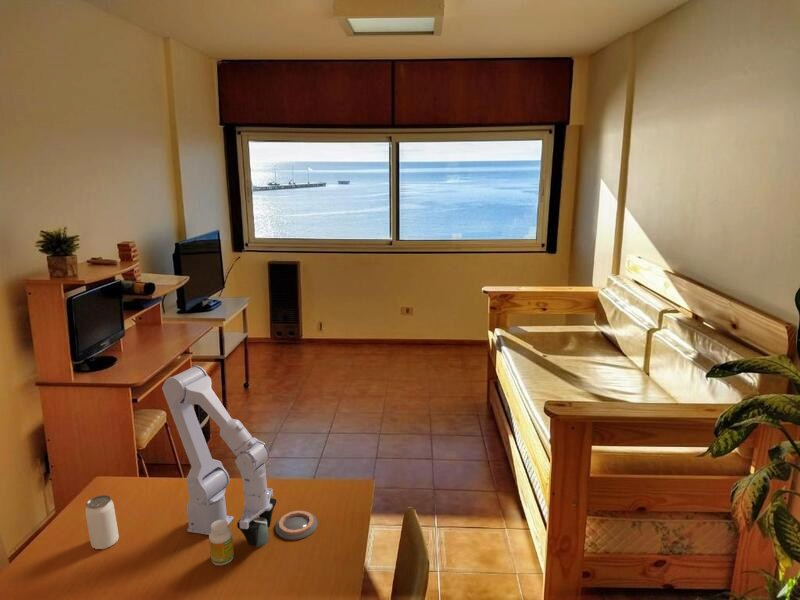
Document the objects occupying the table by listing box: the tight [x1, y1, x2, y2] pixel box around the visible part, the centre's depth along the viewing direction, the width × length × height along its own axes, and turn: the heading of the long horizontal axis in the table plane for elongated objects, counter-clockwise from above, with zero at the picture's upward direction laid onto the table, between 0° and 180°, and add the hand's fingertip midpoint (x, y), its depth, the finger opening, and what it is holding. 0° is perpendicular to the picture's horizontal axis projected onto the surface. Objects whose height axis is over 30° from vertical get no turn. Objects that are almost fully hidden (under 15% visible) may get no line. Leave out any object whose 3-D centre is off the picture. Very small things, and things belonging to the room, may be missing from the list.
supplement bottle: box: [208, 520, 235, 566], centre depth 142 cm, size 5×5×10 cm
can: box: [84, 494, 120, 550], centre depth 148 cm, size 6×6×12 cm
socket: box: [274, 510, 318, 541], centre depth 154 cm, size 11×11×2 cm
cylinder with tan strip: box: [253, 516, 269, 548], centre depth 148 cm, size 5×4×6 cm
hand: (259, 535), depth 149 cm, fingers open, 7 cm apart
